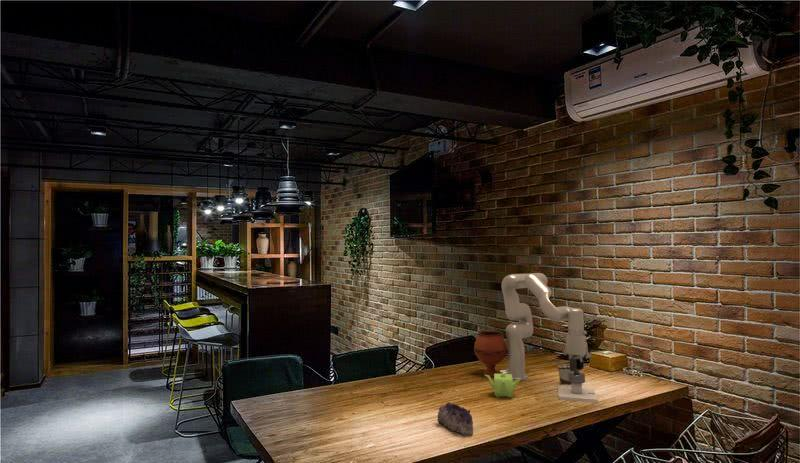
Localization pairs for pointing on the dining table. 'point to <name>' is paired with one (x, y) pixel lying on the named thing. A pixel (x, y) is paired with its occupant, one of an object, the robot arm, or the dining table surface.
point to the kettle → (503, 384)
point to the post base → (576, 397)
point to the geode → (456, 419)
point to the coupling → (575, 371)
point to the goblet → (490, 349)
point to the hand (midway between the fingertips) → (576, 368)
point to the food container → (564, 374)
